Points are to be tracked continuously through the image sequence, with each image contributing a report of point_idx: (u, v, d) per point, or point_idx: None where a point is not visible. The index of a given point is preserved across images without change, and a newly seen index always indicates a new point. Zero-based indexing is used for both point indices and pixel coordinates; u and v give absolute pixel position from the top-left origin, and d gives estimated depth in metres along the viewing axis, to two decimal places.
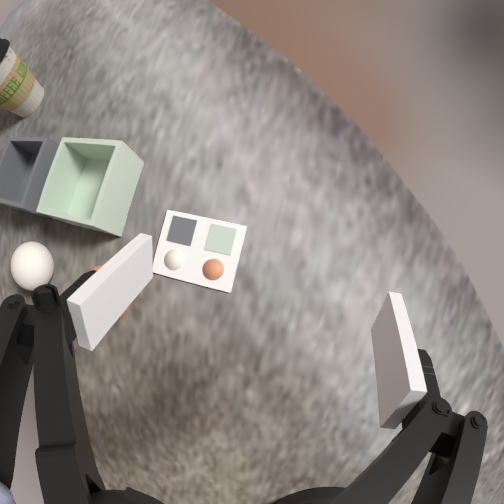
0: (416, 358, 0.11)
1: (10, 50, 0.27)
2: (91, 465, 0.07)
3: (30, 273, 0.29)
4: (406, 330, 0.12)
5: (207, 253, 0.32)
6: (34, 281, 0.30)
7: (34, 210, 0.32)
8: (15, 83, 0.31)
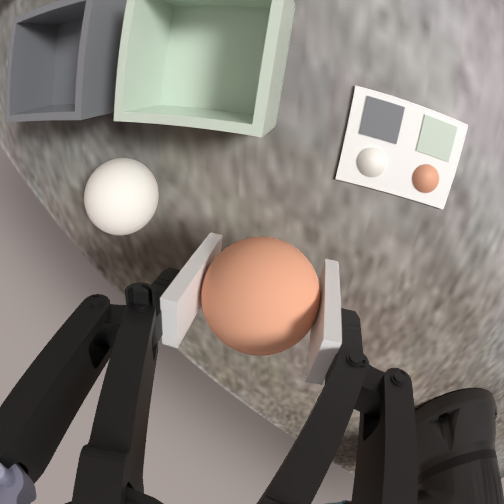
0: (337, 314, 0.13)
1: None
2: (137, 472, 0.07)
3: (130, 218, 0.21)
4: (333, 290, 0.14)
5: (419, 155, 0.19)
6: (138, 224, 0.22)
7: (100, 112, 0.19)
8: None
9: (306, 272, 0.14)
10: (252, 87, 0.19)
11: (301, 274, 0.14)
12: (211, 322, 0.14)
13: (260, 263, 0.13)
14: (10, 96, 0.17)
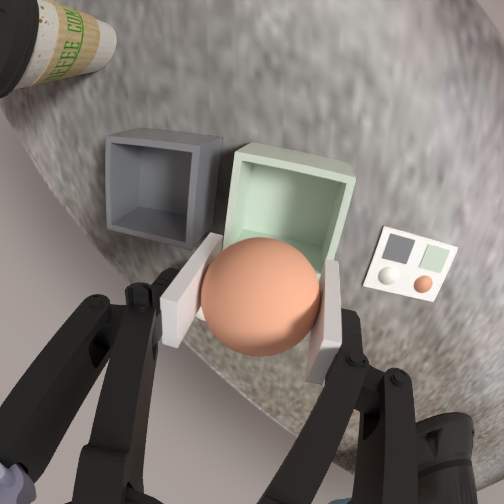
0: (337, 314, 0.13)
1: (41, 5, 0.14)
2: (137, 472, 0.07)
3: None
4: (333, 290, 0.14)
5: (420, 270, 0.30)
6: None
7: (200, 237, 0.29)
8: (72, 47, 0.19)
9: (306, 273, 0.14)
10: (313, 226, 0.30)
11: (301, 275, 0.14)
12: (211, 323, 0.14)
13: (260, 264, 0.13)
14: (111, 209, 0.28)
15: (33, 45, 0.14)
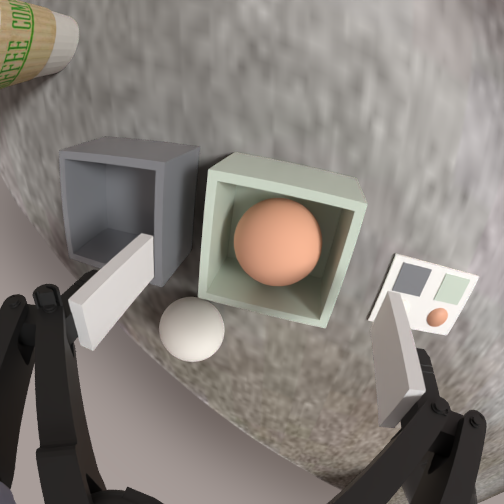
0: (415, 357, 0.11)
1: None
2: (92, 465, 0.07)
3: (205, 355, 0.26)
4: (405, 329, 0.12)
5: (435, 302, 0.25)
6: (210, 355, 0.27)
7: (174, 269, 0.24)
8: (19, 48, 0.14)
9: (312, 220, 0.20)
10: None
11: (308, 221, 0.19)
12: (243, 257, 0.20)
13: (279, 211, 0.19)
14: (71, 236, 0.22)
15: None
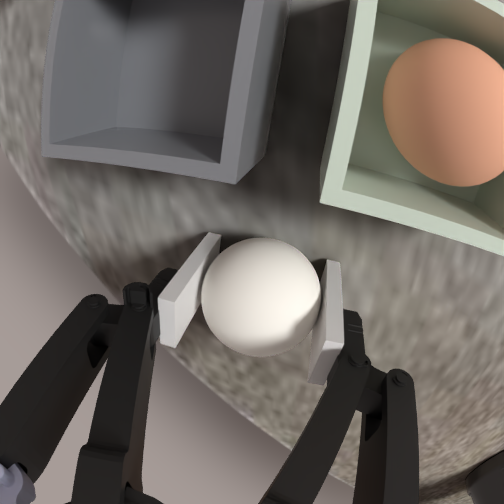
0: (339, 315, 0.13)
1: None
2: (136, 471, 0.07)
3: (294, 342, 0.14)
4: (335, 291, 0.14)
5: None
6: (296, 344, 0.15)
7: (250, 164, 0.12)
8: None
9: None
10: None
11: None
12: (432, 107, 0.08)
13: (473, 46, 0.07)
14: (51, 109, 0.10)
15: None
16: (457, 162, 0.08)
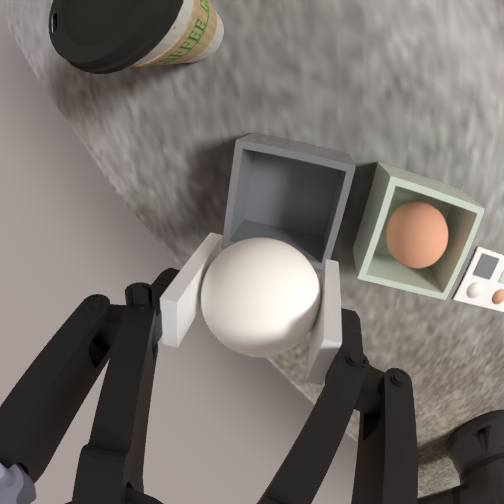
0: (337, 314, 0.13)
1: None
2: (137, 472, 0.07)
3: (292, 343, 0.14)
4: (333, 290, 0.14)
5: (498, 284, 0.28)
6: (295, 345, 0.15)
7: None
8: (199, 28, 0.18)
9: None
10: None
11: (443, 219, 0.23)
12: (404, 245, 0.24)
13: (429, 211, 0.23)
14: (231, 224, 0.26)
15: (178, 11, 0.13)
16: (412, 263, 0.24)
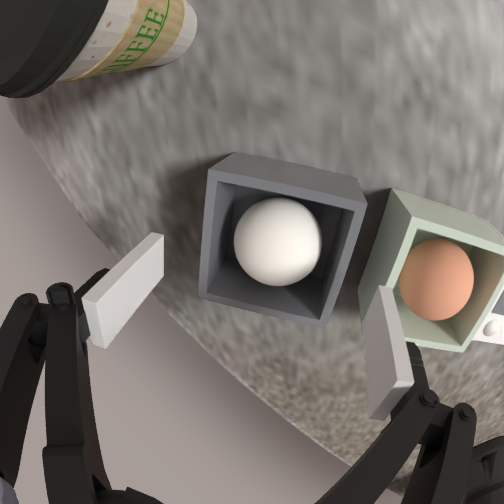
0: (404, 349, 0.11)
1: None
2: (99, 465, 0.07)
3: (303, 271, 0.20)
4: (395, 322, 0.13)
5: None
6: (304, 276, 0.21)
7: None
8: (155, 21, 0.12)
9: None
10: None
11: (470, 262, 0.18)
12: (422, 298, 0.18)
13: (455, 256, 0.18)
14: (208, 273, 0.21)
15: (106, 0, 0.08)
16: (429, 317, 0.19)
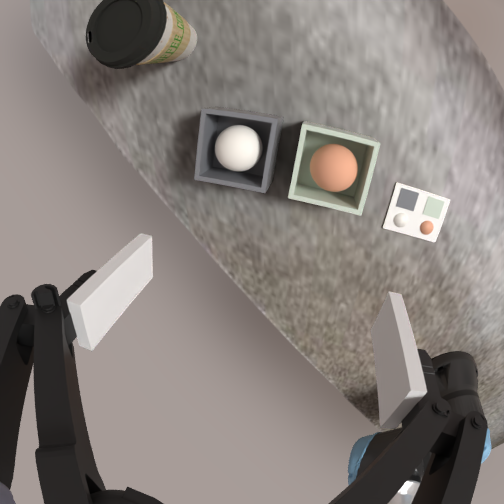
0: (416, 358, 0.11)
1: None
2: (91, 465, 0.07)
3: (250, 157, 0.36)
4: (406, 330, 0.12)
5: (424, 216, 0.40)
6: (252, 163, 0.37)
7: (268, 186, 0.40)
8: (177, 40, 0.29)
9: (352, 154, 0.35)
10: None
11: (351, 154, 0.35)
12: (319, 171, 0.35)
13: (338, 148, 0.34)
14: (200, 163, 0.38)
15: (162, 33, 0.24)
16: (328, 185, 0.36)
